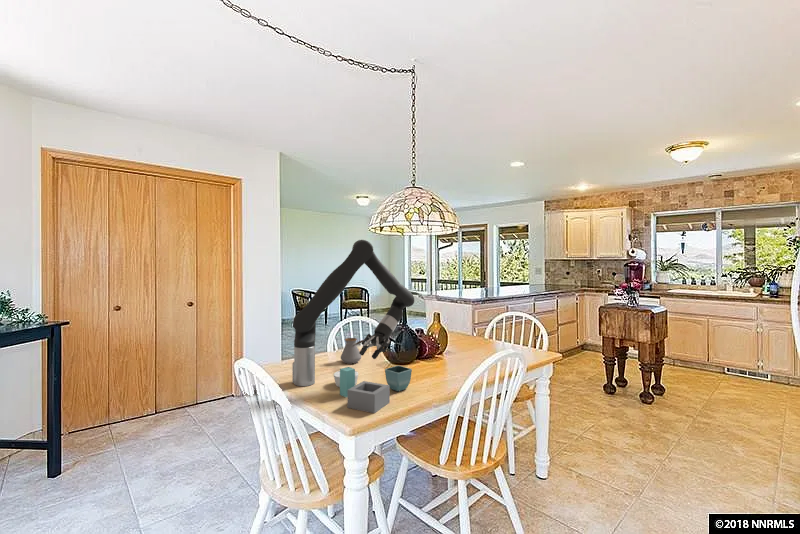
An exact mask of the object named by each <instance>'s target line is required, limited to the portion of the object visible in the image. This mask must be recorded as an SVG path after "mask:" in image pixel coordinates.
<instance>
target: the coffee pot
mask: <svg viewBox="0 0 800 534" xmlns="http://www.w3.org/2000/svg"><path fill="white" fill-rule="evenodd" d="M357 340H358V339H357V338H355V337H346V338H345V339H344V341H345V342H346V343H345V346H344V347H343V350H342V352H341V355H340V360H341V361H342V362H343V363H344V364H346V363H347V364H348V365H352V363H354V364H358V363H359V361H361V359H362V355H360V354H359V352H360V349H359V348H358V345H360V344H361V343H362V342H363V340H364V339H362V340H361V339H360V340H359V341H358V342H357Z"/></svg>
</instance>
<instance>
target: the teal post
mask: <svg viewBox="0 0 800 534" xmlns="http://www.w3.org/2000/svg"><path fill="white" fill-rule="evenodd" d="M339 371H340V387H339V395H340V396H341V397H344V398H347V399H348V389H350V388H352V387H354V386H355V371H356V369H355V368H353V367H350V366H346V367H343V368H342V367H341V368H339Z"/></svg>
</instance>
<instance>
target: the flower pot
mask: <svg viewBox="0 0 800 534" xmlns="http://www.w3.org/2000/svg"><path fill="white" fill-rule="evenodd" d="M412 372H413V371H412V368H410V367H406V366H402V365H395V366H391V367H387V368H385V369H384V374H385V380H386V383H387V384H386V385H390V390H393V391H396V392H401V391H403V390H406V389H407V388H408V387H409V385H410V382H411V379H412Z"/></svg>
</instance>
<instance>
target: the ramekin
mask: <svg viewBox="0 0 800 534" xmlns="http://www.w3.org/2000/svg"><path fill="white" fill-rule="evenodd" d="M358 378H359V372H358V371H356V370H355V385H357V383H358ZM333 379H334V382H335V385H336V387H337V388H340V370H337V371H335V372H334V373H333Z"/></svg>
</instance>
